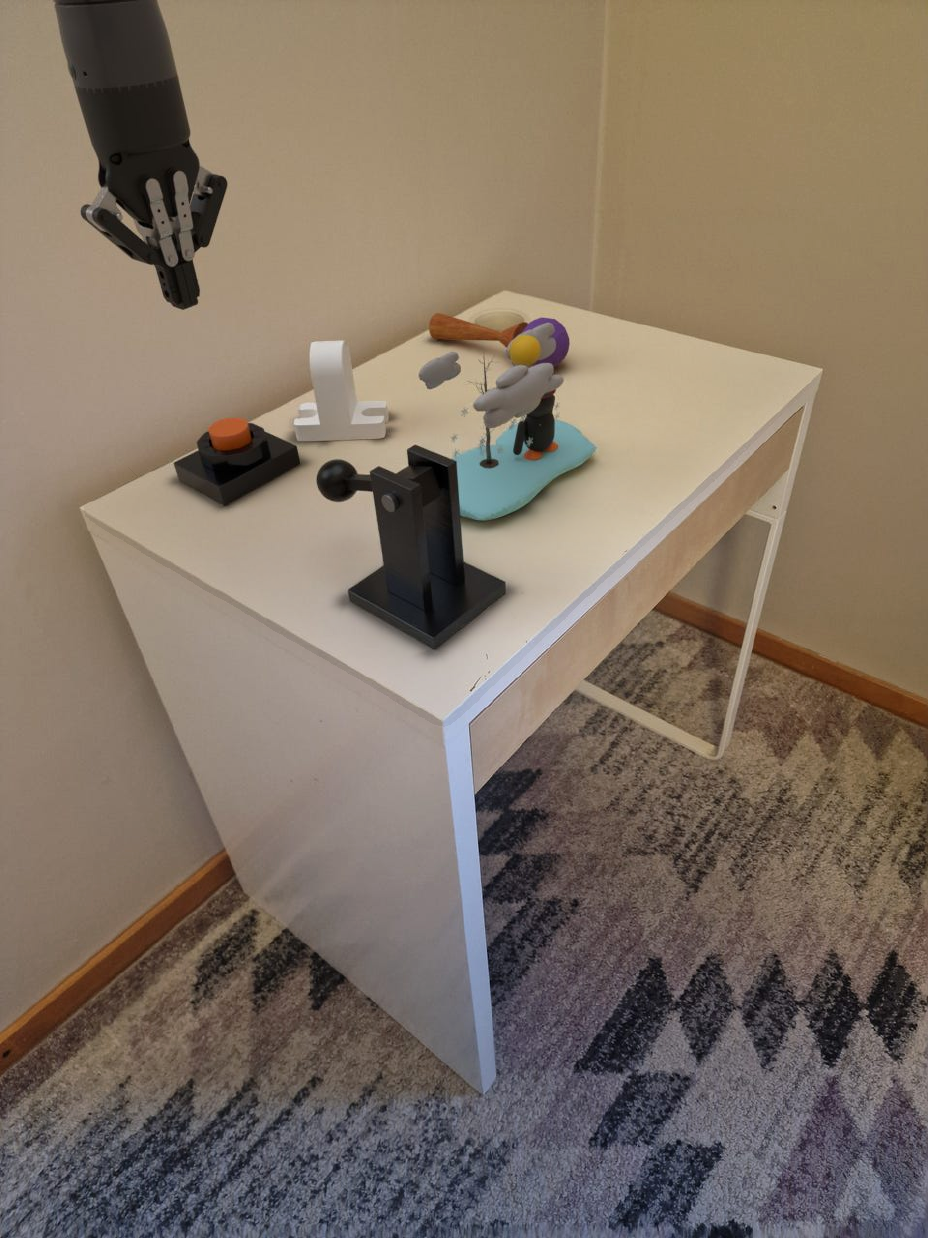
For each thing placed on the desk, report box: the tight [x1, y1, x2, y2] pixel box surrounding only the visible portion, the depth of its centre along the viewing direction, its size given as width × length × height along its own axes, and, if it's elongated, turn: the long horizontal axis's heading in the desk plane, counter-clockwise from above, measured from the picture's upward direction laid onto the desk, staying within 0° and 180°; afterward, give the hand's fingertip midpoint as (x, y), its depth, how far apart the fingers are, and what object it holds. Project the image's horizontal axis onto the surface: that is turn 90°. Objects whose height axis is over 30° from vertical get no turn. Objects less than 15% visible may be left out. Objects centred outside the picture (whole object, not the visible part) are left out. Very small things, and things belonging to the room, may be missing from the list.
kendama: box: [428, 312, 570, 368], centre depth 107 cm, size 6×6×20 cm
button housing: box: [172, 422, 301, 507], centre depth 89 cm, size 10×8×4 cm
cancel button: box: [208, 417, 252, 450], centre depth 87 cm, size 4×4×2 cm
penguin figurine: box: [418, 323, 597, 521], centre depth 81 cm, size 20×11×15 cm, turn 135°
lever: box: [315, 458, 441, 507], centre depth 69 cm, size 13×4×4 cm, turn 49°
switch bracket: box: [347, 444, 507, 650], centre depth 69 cm, size 10×9×13 cm
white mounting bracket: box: [293, 339, 390, 442], centre depth 93 cm, size 5×10×10 cm, turn 88°
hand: (185, 305), depth 75 cm, fingers closed
